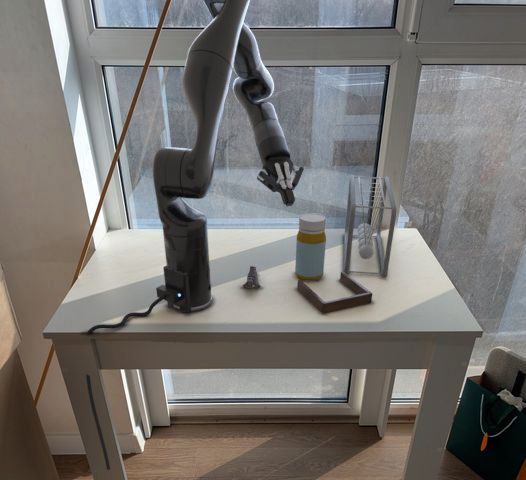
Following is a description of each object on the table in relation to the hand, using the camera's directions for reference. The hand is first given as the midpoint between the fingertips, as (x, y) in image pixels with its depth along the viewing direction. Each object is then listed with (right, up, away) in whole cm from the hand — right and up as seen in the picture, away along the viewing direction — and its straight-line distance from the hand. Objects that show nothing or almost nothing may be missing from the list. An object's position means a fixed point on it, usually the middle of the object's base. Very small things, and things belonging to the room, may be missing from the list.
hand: (290, 204), depth 128 cm
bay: (+9, -24, -10) cm, 28 cm away
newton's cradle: (+20, -11, +10) cm, 25 cm away
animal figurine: (-10, -21, -6) cm, 24 cm away
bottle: (+5, -18, -1) cm, 19 cm away
